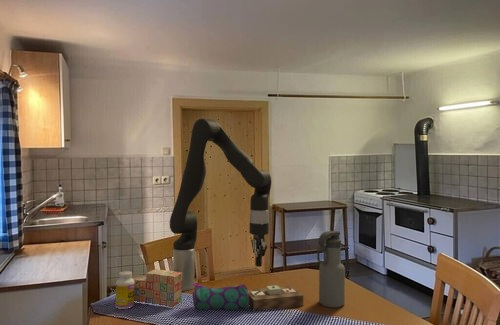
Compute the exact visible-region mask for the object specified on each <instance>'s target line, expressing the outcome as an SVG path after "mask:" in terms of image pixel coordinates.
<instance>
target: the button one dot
mask: <svg viewBox="0 0 500 325" xmlns="http://www.w3.org/2000/svg"><path fill="white" fill-rule="evenodd" d="M279 287H280V286H278V285H277V284H276V285H266V286H265V288H266V292H267V293H268V294H269V295H277V294H281V288H279Z"/></svg>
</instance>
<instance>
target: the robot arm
mask: <svg viewBox="0 0 500 325" xmlns="http://www.w3.org/2000/svg"><path fill="white" fill-rule="evenodd" d="M208 142H212V143H213V144H215V145H217V146H218V147H219V149H221V151H222V152H223V154H224V156H225V158H226V160H227V161H228V163H230V165H231V166H232V167H233V168H234V169H235V170H237V171H238V173H240V175H241V177H242V178H243V179H244V181H245V182H246V183H247V185H249V186H250V187H252V188H253V189H254V192H253V194H252V195H251V197H250V200H249V201H250V204H249V205H250V207H249V208H250V209H249V222H248V225H249V226H248V227H249V228H248V229H249V234H250V235H252V236H253V237H252V238H251V240H250V242H251V247H252V253H253V254H254V256H255V262H254V263H255V264H254V265H255V267H262V265H263V257H265V254H266V251H267V250H268V249H267V248H268V245H267V244H266V239H265V235H269V232H270V230H269V228H270V226H269V224H270V216H269V215H270V212H269V198H270V194H271V193H270V192H271V188H272V176H271V174H270V172H268V170H264V169H259V168H257V167H256V166H255V165H254V164H255V162H254V161H253V160H252V158H251V157H250V156H248V154H247V153H246V152H244V151H243V150H242V149H241V148H240V147H239V146H238V145H237V144H236V143H235V142H234V141H233V140H232V139H231V137H230V136H229V135H228V134H227V132H226V131H225V129H223V127H222V126H221V125H220V123H219V122H218V121H217V120H215V119H210V118H198V119H197V120H196V121H195V122H194V124H193V126H192V130H191V137H190V142H189V143H190V144H189V150H188V153H187V154H188V155H187V159H186V163H185V167H184V170H183V174H182V177H181V183H180V186H179V192H178V194H177V197H176V201H175V204H174V206H173V209H172V212H171V215H170V218H169V229H170V231H171V232H172V233H173V234H175V235H178V234H179V235H180V236H179V237H178V238H177V239H176V240H175V241H174V242H173V246H172V249H173V253H172V254H173V255H172V259H173V260H172V266H171V267H172V268H171V269H172V270H171V271H175V272H181V273H182V292H184V291H190V290H193V289H194V288H195V286H194V285H193V283H195V254H196V253H195V250H196V249H195V247H196V246H195V245H196V243H197V236H198V218H197V215H196V214H195V212H193V211H191V210H189V207H190V205H191V204H192V202H193V200H195V198H196V197H197V196H198V195H199V193H200V191H201V190H202V188H203V186H204V182H205V179H206V176H207V168H206V162H205V151H206V146H207V143H208Z"/></svg>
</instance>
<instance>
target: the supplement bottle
mask: <svg viewBox="0 0 500 325" xmlns="http://www.w3.org/2000/svg"><path fill="white" fill-rule="evenodd" d="M132 276H133V271H129V270H124V271H120V272H119V273H118V277H119V278H118V279H117V280H116V282H115V308H116V309H117V308H118V309H117V310H121V309H125V310H127V309H126V308H129V307H132V306H133V305H134V306H135V303H134V284H135V282H134V279H132V278H131V277H132ZM134 306H133V307H134ZM133 307H132V308H133Z"/></svg>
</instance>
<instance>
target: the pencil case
mask: <svg viewBox="0 0 500 325" xmlns="http://www.w3.org/2000/svg"><path fill="white" fill-rule="evenodd" d="M193 285H194V288H193V289H194V290H193V292H192V304H193V307H194V310H208V311H209V310H222V311H223V310H225V311H243V310H244V311H245V310H247V309H249V294H248V290H249V289H248V286H246V285H245V283H240V284H237V285H235V286H234V285H229V286H228V285H227V286H222V287H207V286H204V285H202V284H201V283H198V284H197V283H195V282H194V283H193Z"/></svg>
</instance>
